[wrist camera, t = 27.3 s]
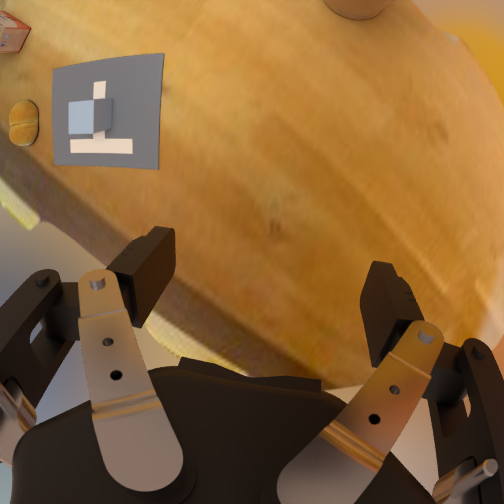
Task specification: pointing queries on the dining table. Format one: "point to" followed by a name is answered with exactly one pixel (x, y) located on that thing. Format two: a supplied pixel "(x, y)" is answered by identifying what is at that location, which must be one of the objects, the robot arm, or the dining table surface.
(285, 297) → the dining table surface
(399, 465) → the robot arm
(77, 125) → the gray cube
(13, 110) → the bread roll
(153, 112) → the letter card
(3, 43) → the cracker box
